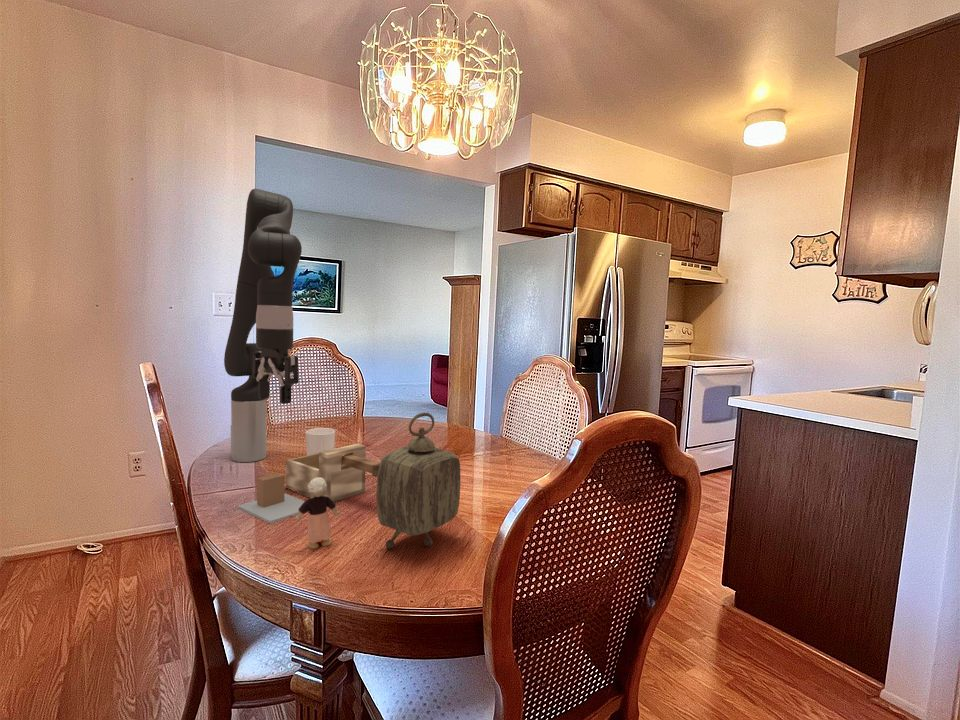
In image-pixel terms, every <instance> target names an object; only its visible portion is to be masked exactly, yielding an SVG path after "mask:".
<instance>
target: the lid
mask: <svg viewBox="0 0 960 720" xmlns="http://www.w3.org/2000/svg"><path fill="white" fill-rule="evenodd" d="M285 477H286V474H283V473H280V472H275V473H272V474H267V475H264V476H260V477H257V478H256V479H257V480H256V491H257V493H256V500H251V501H249V502H244V503H241V504H239V505H237V509H238V508H239V510H240V509H241V511H242V510H243V512H244V513H247V514H249V515H251V514H252V515H251V516H253V515H254V516H253V517H255V516H256V517H255V518H257V519H259V518H260V519H259V520H261V519H262V520H261V521H263V520H264V522H265V521H266V522H265V523H267V524H269V523H270V524H269V525H271V523H272V524H274V522H275V523H277V521H278V522H280V520H281V521H282V519H284V520H286V519H285V518H287V519H289V518H288V517H290V516H293V515H296V514H297V513H298V511H299V510H298V509H299V508H300V507H301V505H302V504H303V503H304V502H305V501H306V500H303V499H300V498H297V497H295V496H293V495H291V494H288V493H285ZM296 516H297V515H296ZM293 517H294V516H293ZM290 518H291V517H290Z"/></svg>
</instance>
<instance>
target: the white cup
mask: <svg viewBox="0 0 960 720" xmlns="http://www.w3.org/2000/svg"><path fill="white" fill-rule="evenodd" d="M335 442H336V429H333V428H330V427H316V428H311V429H307V430H306V431H305V446H306V447H305V449H306V455H310V454H315V453H319V452H323V451H327V450H331V449H335V445H336V443H335Z"/></svg>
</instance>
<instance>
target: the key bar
mask: <svg viewBox="0 0 960 720" xmlns="http://www.w3.org/2000/svg"><path fill="white" fill-rule="evenodd" d="M341 457H342V464H343V465H347V466H350V467H353V468H356V469H359V470H363V471H365V473H370V474H371V475H372V477H375V478H376V477H377V478H378V471H379V466H380V462H379V461H378V462H377V461H375V460H371V459H367V458H366V459H365V458H361V457H358V456H354V455H351V454H349V455H345V454H344V455H341Z"/></svg>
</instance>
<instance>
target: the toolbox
mask: <svg viewBox="0 0 960 720" xmlns="http://www.w3.org/2000/svg"><path fill="white" fill-rule="evenodd" d="M366 448H367V447H366V445H364V444H360V443H354V444H350V445H346V446H341V447H335V448H334V449H331V450H327V451H323V452H319V453H315V454H310V455H307V454H306V455H302V456H298V457H293V458H289V459H285V488H286V487H287V488H289V489H291V490H294V491H296V492H298V493H297V494H299V493H301V494H303V495H302V496H304V495H305V496H304V497H306V496H308V497H307V498H309V497H310V498H309V499H311V498H314V496H312V495H311V493H310V492H309V491H308V485H309V483H310V482H311V480H313V479H314V478H317V477H318V478H319V477H320V478H323V479H324V480H325V481H326V485H327V487H326V490H325V492H324V494H323V495H322V496H326V497H329V498H330V499H331V500H332V501H333V502H334V503H336V502H339V501H343V500H345V499H348V498H350V497H354V496H357V495H360V494H363V493H365V492H366V471H363V470H359V469H356V468H353V467H350V466H347V465H343V464H342V456H345V455H349V454H351V455H354V456H358V457H361V458H365V459H367V458H366V454H367V453H366V452H367V450H366ZM289 489H288V490H289ZM291 490H290V491H291ZM294 491H293V492H294ZM296 492H295V493H296ZM301 494H300V495H301ZM338 500H339V501H338ZM335 501H336V502H335Z"/></svg>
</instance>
